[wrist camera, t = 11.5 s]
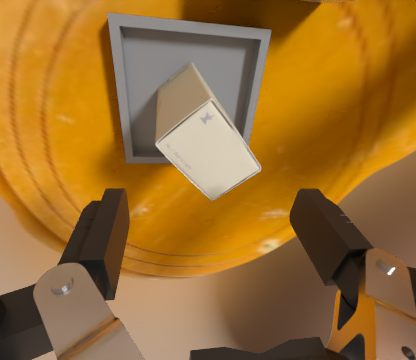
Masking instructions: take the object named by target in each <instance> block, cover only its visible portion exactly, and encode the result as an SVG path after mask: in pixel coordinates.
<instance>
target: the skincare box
mask: <svg viewBox="0 0 416 360" xmlns="http://www.w3.org/2000/svg"><path fill="white" fill-rule="evenodd" d="M155 145H156V147H157V148H158V149H159V150H160V151H161V152H162V153H163V154H164V155H165V156H166V158H167V159H168V160H169V161H170V162H171V163H172V164H173V165H174V166H175V167H176V168H177V169H178V170H179V171H180V172H181V173H182V174H183V175H185V176H186V177H187V178H188V179H189V180H190V181H191V182H192V183H193V184H194V185H195V186H196V187H197V188H198V189H199V190H200V191H201V192H202V193H204V194H205V195H206V196H207V197H208V198H209V199H210V200H211V201H213V200H215V199H217V198H219V197H220V196H222V195H223V194H225V193H227V192H228V191H230V190H231V189H233V188H235V187H236V186H238V185H239V184H241V183H243V182H244V181H246V180H247V179H249V178H250V177H252V176H253V175H255V174H256V173H258V172H260V171H261V166H260V164H259V162H258V161H257V159H256V158H255V156H254V155H253V153H252V152H251V150H250V149H249V147H248V146H247V144H246V142H245V141H244V139H243V138H242V136H241V135H240V133H239V132H238V130H237V129H236V127H235V125H234V124H233V122H232V121H231V119H230V118H229V116H228V115H227V113H226V112H225V110H224V109H223V107H222V106H221V104H220V102H219V101H218V99H217V98H216V96H215V95H214V93H213V92H212V90H211V89H210V87H209V86H208V85H207V83H206V82H205V80H204V79H203V77H202V76H201V74H200V73H199V72H198V70H197V69H196V67H195V66H194V65H193V63H192V62H189V63H187V64H186V65H185V66H184V67H182V68H181V69H180V70H179V71H178V72H176V73H175V74H174V75H173V76H172V77H170V78H169V79H168V80H167V81H166V82H165V83H164V84H163V85H161V86H160V87H159V88H158V97H157V117H156V136H155Z"/></svg>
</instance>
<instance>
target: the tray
mask: <svg viewBox="0 0 416 360" xmlns="http://www.w3.org/2000/svg"><path fill="white" fill-rule="evenodd" d="M107 16H108V24H109V32H110V40H111V47H112V55H113V63H114V71H115V79H116V87H117V95H118V103H119V111H120V119H121V127H122V134H123V142H124V150H125V158H126V163H157V164H172V163H171V162H170V161H169V160H168V159H167V158H166V156H165V155H164V154H163V153H162V152H161V151H160V150H159V149H158V148H157V147H156V145H155V136H156V117H157V97H158V88H159V87H160V86H161V85H163V84H164V83H165V82H166V81H167V80H168V79H169V78H170V77H172V76H173V75H174V74H175V73H176V72H178V71H179V70H180V69H181V68H182V67H184V66H185V65H186V64H187V63H189V62H192V63H193V65H194V66H195V67H196V69H197V70H198V72H199V73H200V74H201V76H202V77H203V79H204V80H205V82H206V83H207V85H208V86H209V87H210V89H211V90H212V92H213V93H214V95H215V96H216V98H217V99H218V101H219V102H220V104H221V106H222V107H223V109H224V110H225V112H226V113H227V115H228V116H229V118H230V119H231V121H232V122H233V124H234V125H235V127H236V129H237V130H238V132H239V133H240V135H241V136H242V138H243V139H244V141H245V142H246V144H247V146H248V145H249V140H250V135H251V130H252V125H253V120H254V116H255V111H256V106H257V101H258V96H259V91H260V86H261V81H262V76H263V71H264V67H265V62H266V57H267V52H268V47H269V42H270V37H271V32H272V30H270V29H262V28H253V27H243V26H233V25H224V24H214V23H205V22H195V21H185V20H176V19H166V18H157V17H147V16H138V15H128V14H118V13H107Z"/></svg>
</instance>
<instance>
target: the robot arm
mask: <svg viewBox="0 0 416 360" xmlns="http://www.w3.org/2000/svg"><path fill="white" fill-rule="evenodd" d="M290 223H291V225H292V227H293V229H294V231H295V233H296V234H297V236H298V238H299V240H300V241H301V243H302V245H303V247H304V249H305V250H306V252H307V254H308V256H309V258H310V259H311V261H312V262H313V264H314V266H315V268H316V270H317V272H318V274H319V275H320V277H321V279H322V281H323V283H324V284H325V286H331V285H337V286H338V288H339V291H338V292H337V294H336V302H335V310H334V319H333V326H332V334H331V337H330V340H329V343H328V344H327V348H324V346H323V344H322V342H321V340H320V337H313V338H304V339H295V340H289V341H287V342H285V343H283V344H280V345H279V346H276V347H274V348H273V349H270V350H268V351H266V352H264V353H260V354H258V353H252V352H247V351H242V350H237V349H232V348H227V347H219V348H210V349H201V350H192V351H190V360H416V269H415V268H411V267H406V266H405V265H404V263H403V262H401V260H400V259H398V258H397V257H395V256H394V255H393V254H391V253H389V252H386V251H383V250H381V249H374V247H373V246H372V245H371V244H370V243H369V242H368V241H367V239H366V238H365V237H364V236H363V235H362V234H361V232H360V231H359V230H358V229H357V228H356V227H355V226H354V225H353V223H351V221H350V220H349V218H348V217H347V216H345V214H344V213H343V211H342V210H341V209H340V208H339V207H338V206H337V205H336V204H334V203H333V202H331V201H330V200H329V199H326V197H325V196H324V195H323V194H322V193H321V191H320V190H319V189H300V190H299V191H298V193H297V196H296V199H295V201H294V204H293V206H292V209H291V211H290ZM128 230H129V209H128V202H127V195H126V190H125V189H106V190H105V192H104V195H103V197H102V200H101V201H92V202H91V203H90V204H88V205H87V206H86V207H85V208H84V209H83V211H82V213H81V215H80V218H79V221H78V222H77V224H76V226H75V230H74V231H73V233H72V235H71V237H70V239H69V242H68V244H67V246H66V248H65V250H64V253H63V255H62V257H61V259H60V261H59V263H58V265H57V266H56V267H54V268H52V269H50V270H49V271H47V272H46V273H45V274H44V275H43V276H42V277H41V278H40V279H39V280H38V282H37V283H36V284H34V285H31V286H28V287H25V288H22V289H19V290H16V291H13V292H10V293H7V294H4V295H1V296H0V360H32V359H34V358H36V357H39V356H41V355H43V354H46V353H48V352H50V351H53V350H54V351H55V354H56V357H57V360H145V359H144V357H143V356H142V354H141V352H140V351H139V349H138V348H137V346H136V344H135V343H134V341H133V339H132V338H131V336H130V335H129V333H128V331H127V330H126V328H125V327H124V325H123V324H122V322H121V321H120V319H119V318H116V317H115V316H114V315H113V313H112V312H111V310H110V308H109V306H108V305H107V303H106V302H105V300H114V299H115V293H116V289H117V284H118V279H119V274H120V269H121V264H122V260H123V255H124V250H125V245H126V240H127V235H128Z"/></svg>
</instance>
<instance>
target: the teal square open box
mask: <svg viewBox="0 0 416 360" xmlns="http://www.w3.org/2000/svg"><path fill="white" fill-rule="evenodd" d="M302 1H309V2H317V3H330V2H342V1H355V0H302Z"/></svg>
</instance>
